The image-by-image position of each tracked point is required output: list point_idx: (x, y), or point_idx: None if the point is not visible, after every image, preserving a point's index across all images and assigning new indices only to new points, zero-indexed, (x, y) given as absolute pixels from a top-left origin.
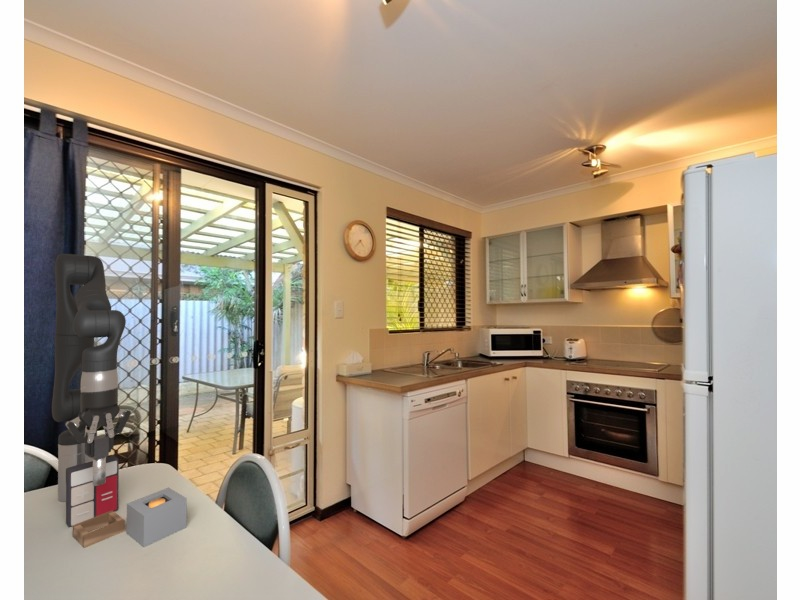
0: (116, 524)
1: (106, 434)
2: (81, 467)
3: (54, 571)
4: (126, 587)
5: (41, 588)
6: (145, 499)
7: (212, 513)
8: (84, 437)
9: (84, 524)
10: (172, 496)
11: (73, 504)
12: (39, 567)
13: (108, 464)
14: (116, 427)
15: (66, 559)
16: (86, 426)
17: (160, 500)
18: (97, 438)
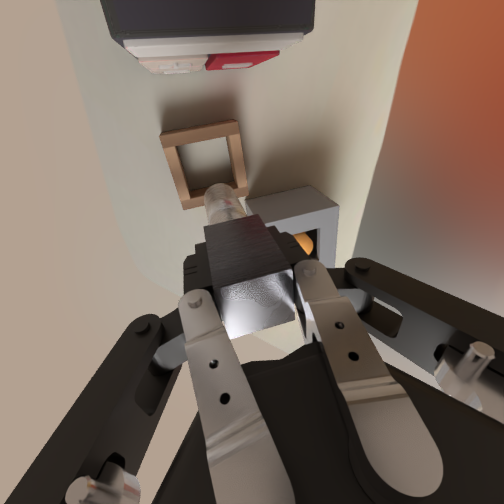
0: None
1: (297, 287)
2: (164, 20)
3: (147, 236)
4: None
5: (137, 265)
6: (289, 230)
7: (351, 225)
8: (182, 362)
9: (182, 144)
10: (324, 249)
11: (151, 68)
12: (121, 209)
13: (269, 43)
14: (368, 288)
15: (159, 213)
16: (196, 384)
17: (306, 247)
18: (245, 325)
